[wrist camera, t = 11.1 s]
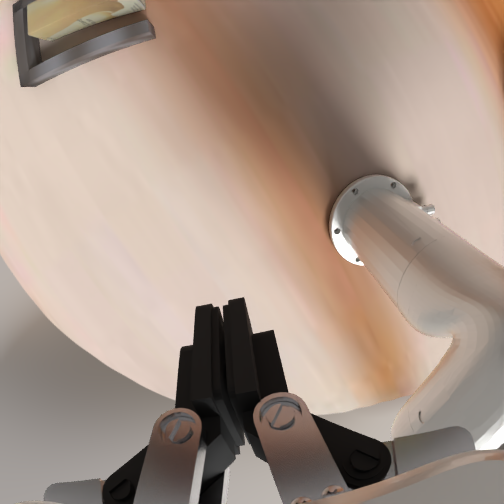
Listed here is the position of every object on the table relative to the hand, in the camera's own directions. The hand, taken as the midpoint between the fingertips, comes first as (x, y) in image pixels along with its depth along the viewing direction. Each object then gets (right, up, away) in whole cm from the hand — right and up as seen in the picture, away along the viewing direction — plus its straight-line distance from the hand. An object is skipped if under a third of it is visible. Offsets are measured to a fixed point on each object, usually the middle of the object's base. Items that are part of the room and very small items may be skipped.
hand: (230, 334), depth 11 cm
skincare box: (-11, +30, +11) cm, 33 cm away
